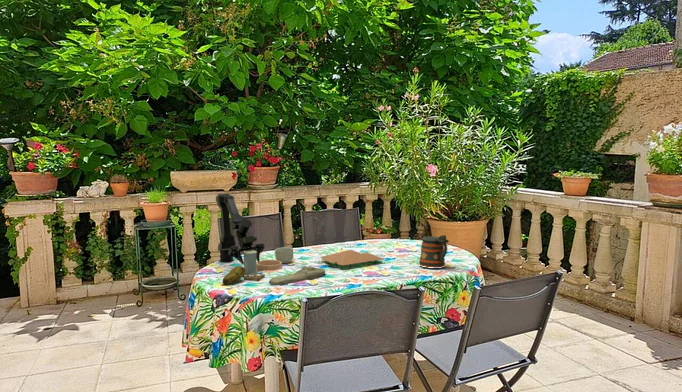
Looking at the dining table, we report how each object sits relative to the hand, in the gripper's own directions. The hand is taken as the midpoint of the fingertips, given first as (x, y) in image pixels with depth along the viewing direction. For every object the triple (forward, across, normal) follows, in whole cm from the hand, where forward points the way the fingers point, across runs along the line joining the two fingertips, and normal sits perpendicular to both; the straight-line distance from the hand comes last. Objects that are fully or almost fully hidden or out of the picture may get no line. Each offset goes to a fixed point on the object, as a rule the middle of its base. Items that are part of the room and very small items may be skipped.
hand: (251, 262), depth 262 cm
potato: (+12, -13, -2) cm, 18 cm away
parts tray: (+11, -2, -1) cm, 11 cm away
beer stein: (+30, +97, -20) cm, 104 cm away
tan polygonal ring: (-2, +14, +11) cm, 18 cm away
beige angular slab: (+10, -3, -2) cm, 11 cm away
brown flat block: (+7, +61, +3) cm, 61 cm away
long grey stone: (+19, +18, -8) cm, 27 cm away
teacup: (-8, +29, +18) cm, 35 cm away
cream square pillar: (+4, 0, +6) cm, 7 cm away
